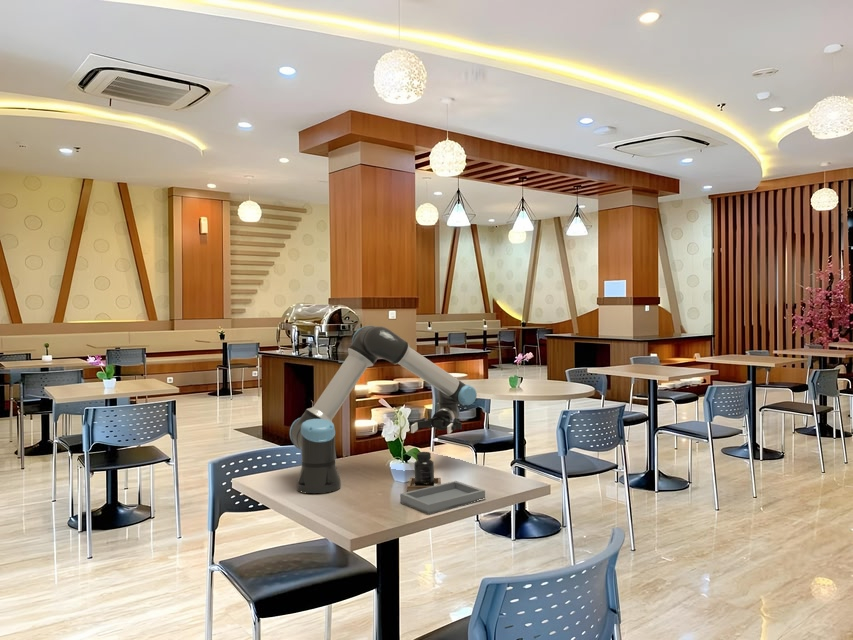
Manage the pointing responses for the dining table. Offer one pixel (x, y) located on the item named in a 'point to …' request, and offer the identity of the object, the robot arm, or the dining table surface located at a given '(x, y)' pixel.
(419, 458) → the supplement bottle
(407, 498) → the parts tray
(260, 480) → the dining table surface
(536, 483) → the dining table surface
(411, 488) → the square wooden tray
